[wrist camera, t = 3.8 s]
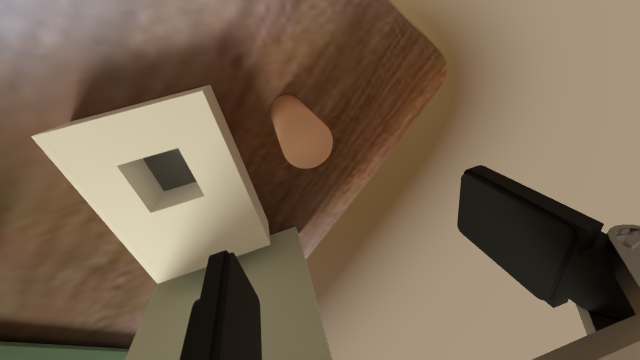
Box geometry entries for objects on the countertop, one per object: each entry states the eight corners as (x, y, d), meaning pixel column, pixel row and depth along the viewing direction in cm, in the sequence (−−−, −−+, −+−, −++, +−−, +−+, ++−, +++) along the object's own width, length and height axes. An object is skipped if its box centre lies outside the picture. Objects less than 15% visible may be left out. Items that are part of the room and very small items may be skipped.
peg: (265, 100, 28) (274, 127, 18) (299, 90, 28) (327, 112, 18) (276, 133, 30) (290, 175, 20) (307, 123, 30) (337, 160, 20)
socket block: (70, 121, 24) (31, 136, 20) (210, 84, 26) (202, 90, 22) (169, 254, 34) (157, 283, 29) (268, 221, 35) (270, 244, 31)
